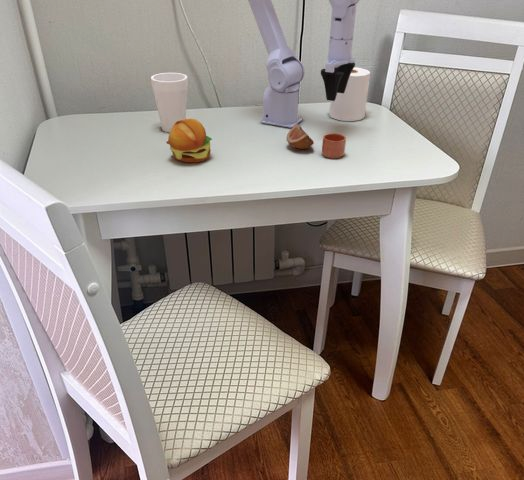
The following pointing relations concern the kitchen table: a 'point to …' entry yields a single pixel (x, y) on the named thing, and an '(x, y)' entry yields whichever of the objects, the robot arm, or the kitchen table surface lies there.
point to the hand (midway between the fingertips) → (335, 96)
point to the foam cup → (170, 98)
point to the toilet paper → (352, 97)
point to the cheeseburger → (189, 141)
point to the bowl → (333, 145)
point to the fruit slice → (299, 138)
